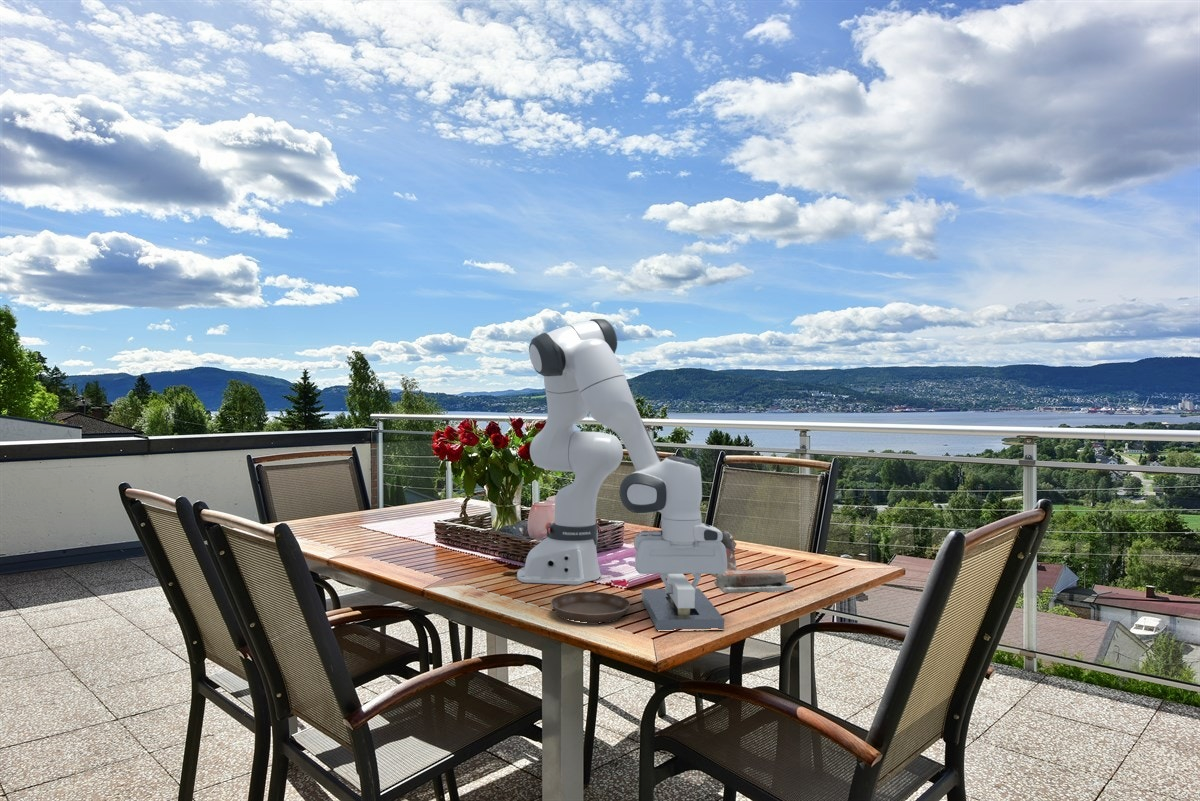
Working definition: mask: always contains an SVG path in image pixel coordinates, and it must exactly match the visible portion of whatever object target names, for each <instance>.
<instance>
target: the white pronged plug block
mask: <svg viewBox="0 0 1200 801" xmlns="http://www.w3.org/2000/svg"><path fill="white" fill-rule="evenodd" d="M666 581H667V583H668V584H672V586H673V590H672V591H673V594H669V595H670V596H671V603H675V605H676V606H677V608H678V615H690V608H695V589H694V588H693V586H692V585H691V584H692V583H691V582H690V581H689V580H688V578H687V577H686V576H685V574H668V579H666Z"/></svg>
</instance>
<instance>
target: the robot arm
mask: <svg viewBox="0 0 1200 801" xmlns="http://www.w3.org/2000/svg"><path fill="white" fill-rule="evenodd" d="M617 347H618V337H617V333H616V331H615V328H614V326H613V325H612V324H611V323H610V322H609V321H608V320H606V319H603V318H592V319H590V320H588V321H587V320H585V321H579V322H574V323H569V324H566V326H562V327H559V328H556V329H553V330H551V331H548V332H542V333H540V334H537V335H536V336H534V337H533V338H531V341H530V343H529V346H528V352H529V359H530V362H531V365H532V367H533V369H534V371H535V372H536V373H537V374H539V375H541V376H542V377H543V382H544V383H543V384H544V391H545V396H546V408H547V418H546V422H545V424H544V427H543V428H542V429H541V430H540V431H539V432H538V433H537V434H535V436H534V437H533V438H532V440H531V442H530V445H529V455H530V459H531V461H532V463H533V464H534V465H535V467H537V468H540V469H543V470H548V471H550V472H573V473H574V474H575V475H574V480H573V481H572V483H570V484H568V485H565V486H564V487H562V488H560V489H559V490H558V491H557V492H556V495H555V497H554V522H553V523H552V522H547V523H545V530H546V538H544V539H543V540H542V541H540V542H539V543H538V544H536V545H535V546H534V547H533V548H532V549H530V551H529V552H528V554H527V556H526V559H525V563H524V567H521V568H519V569H518V570H517V573H516V579H517V580H518V581H519V582H521V583H530V584H531V583H532V584H550V585H552V584H553V585H572V586H573V585H574V586H575V585H581V584H584V583H587V582H591V581H595V580H598V579H600V578H601V577H602V573H601V570H600V566H599V560H598V553H597V544H598V536H599V534H598V524H597V522H596V517H597V516H596V515H597V514H596V513H597V502H598V494H599V491H600V488H601V487H602V484H603V483H604V481H605V480H606V478H608V476H609V475H611V474H612V473H613V472H614V471H616V470H617V469H618V468H619V466H620V465H621V464H622V460H623V458H624V449H623V446H622V445H624V446H625V450H626V451H627V453H628V457H629V459H630V460H631V463H632V464H633V467H634V469H635V471H634V472H633V471H632V473H630V474H628V475H626V476H625V477H624V478H623V480H622V481H621V482H620V486H619V491H618V492H619V498H620V501H621V503H622V505H623V507H625V508H626V509H627V511H628V512H632V513H633V514H640V515H645V514H646V515H647V514H650V513H655V512H659V513H660V514H661V520H660V521H661V522H660V523H661V526H660V528H661V529H660V530H641V531H640V532H638V533H636V534H635V536H634V540H633V541H634V542H633V546H634V549H635V550H636V551H635V557H634V569H635V571H636V572H637V573H638V574H641V575H653V574H654V575H659V574H660V575H659V576H660V579H661V581H662V582H663V584H664V585H665V586H664V589H665V593H666V594H673V591H672V590H673V586H672V584H668V583H667V579H668V574H684V575H692V577H693V580H692V582H691V583H690V584H691V585H692V586H693V588H694V589H695V593H696V589H697V588H696V587H697V586H698V584H699V582H700V581H701V579H702V574H703V575H709V574H710V575H712V574H724V573H725V571H726V570H727V554H726V549H725V546H724V544H723V543H722V542H721V540H722V538H723V534H722V533H723V532H722V531H721V530H720V529H718V527H715V526H713V525H709V524H707V523H704V522H702V520H703V519H702V518H703V517H702V513H701V503H702V500H703V484H702V483H703V481H702V472H701V468H700V466H699V464H698V463H697V462H696V461H695V460H693V459H691V458H686V457H683V456H676V455H670V456H667V457H665V458H664V459H663V460H662V459H661V458H660V455H659V454H658V452H657V449H656V447H655V445H654V443H653V440H652V438H651V436H650V435H649V432H648V430H647V427H646V424H645V423H644V421H643V419H642V418H641V415H640V413H639V410H638V407H637V405H636V402H635V398H634V397H633V394H632V391H631V388H630V386H629V383H628V380H627V378H626V375H625V373H624V370H623V368H622V367H621V364H620V362H619V360H618V358H617V357H616V355H615V353H616V351H617V349H618V348H617ZM589 414H590V416H591V417H592V419H594V420H595V421H596V422H597V423H599V424H601V425H603V426H605V427H607V428H608V429H610V430H612V431H613V432H614V433H615V434H616V435H617V436H618V437H619V438H618V437H617V436H616V435H613V434H610V433H606V432H602V431H579V430H575V429H574V425H575V424H577V423H580V422H581V421H582V420H584V419H585V418H586V417H587V416H588V415H589ZM620 440H621V441H620ZM622 443H623V444H622ZM599 577H600V578H599Z"/></svg>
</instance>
